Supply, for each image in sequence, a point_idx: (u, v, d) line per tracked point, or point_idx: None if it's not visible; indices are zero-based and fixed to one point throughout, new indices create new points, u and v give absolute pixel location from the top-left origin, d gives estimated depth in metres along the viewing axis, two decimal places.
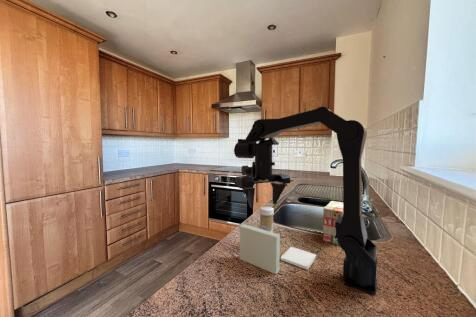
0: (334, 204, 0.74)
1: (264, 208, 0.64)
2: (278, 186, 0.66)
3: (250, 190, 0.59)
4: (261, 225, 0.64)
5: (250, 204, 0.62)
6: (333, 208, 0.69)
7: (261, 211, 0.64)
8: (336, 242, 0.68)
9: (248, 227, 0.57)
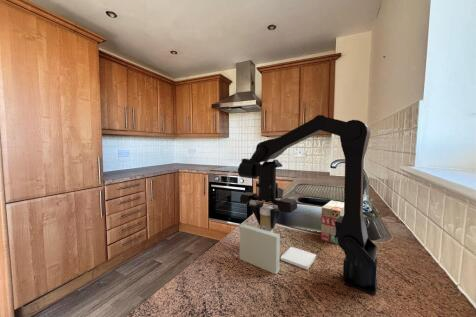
0: (333, 203, 0.75)
1: (264, 208, 0.64)
2: None
3: (251, 207, 0.65)
4: (261, 225, 0.64)
5: None
6: (331, 207, 0.70)
7: (261, 211, 0.64)
8: (334, 241, 0.69)
9: (248, 227, 0.57)
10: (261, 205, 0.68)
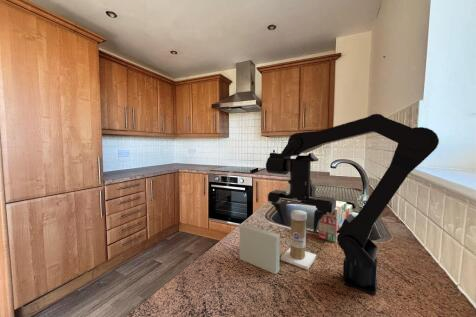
0: None
1: (296, 212, 0.58)
2: None
3: (274, 205, 0.60)
4: (293, 231, 0.58)
5: None
6: None
7: (293, 216, 0.57)
8: (331, 239, 0.70)
9: (248, 227, 0.57)
10: (285, 203, 0.62)
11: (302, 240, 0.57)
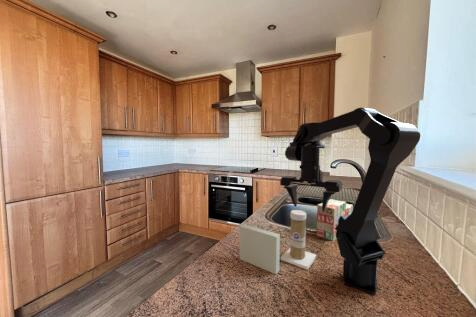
0: (330, 202, 0.77)
1: (296, 212, 0.58)
2: None
3: (287, 188, 0.67)
4: (292, 231, 0.58)
5: None
6: (327, 205, 0.73)
7: (293, 216, 0.57)
8: (328, 238, 0.71)
9: (248, 227, 0.57)
10: (295, 187, 0.69)
11: (302, 240, 0.57)
